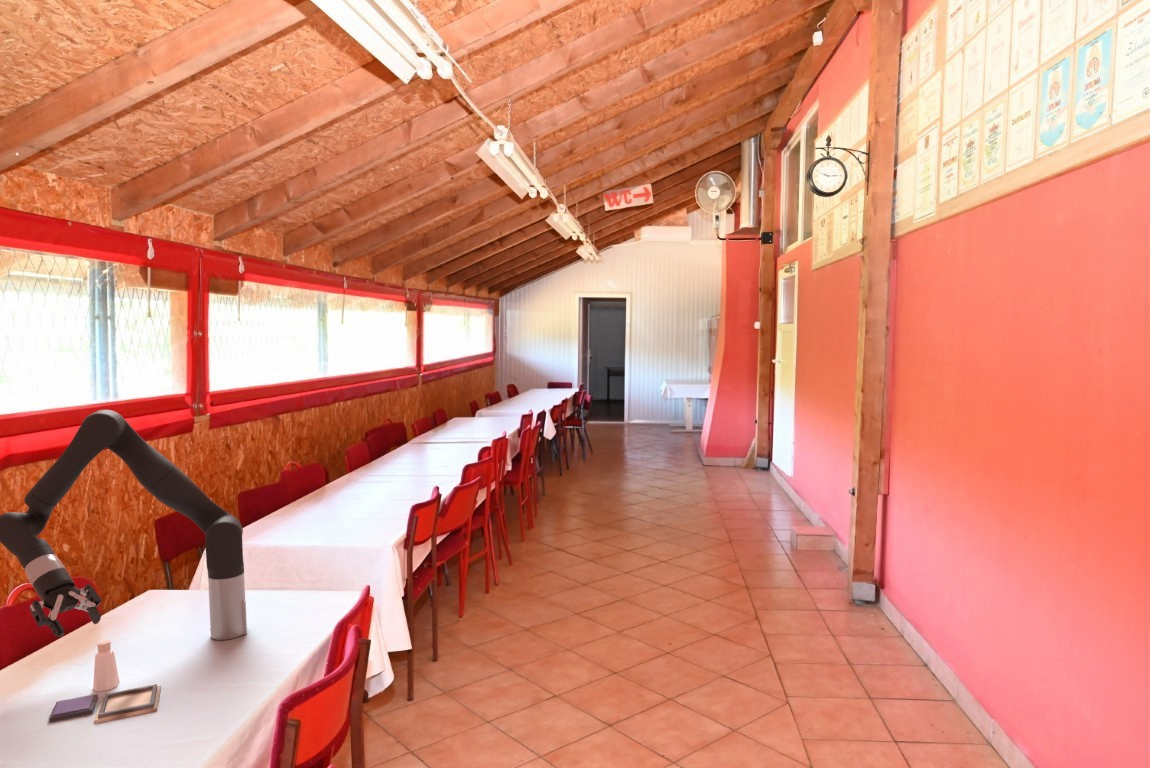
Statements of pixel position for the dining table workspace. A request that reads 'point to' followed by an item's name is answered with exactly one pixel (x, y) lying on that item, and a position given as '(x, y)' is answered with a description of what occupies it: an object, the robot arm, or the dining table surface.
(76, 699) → the ink pad
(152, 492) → the robot arm
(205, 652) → the dining table surface
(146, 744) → the dining table surface
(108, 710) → the board
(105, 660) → the pepper shaker
